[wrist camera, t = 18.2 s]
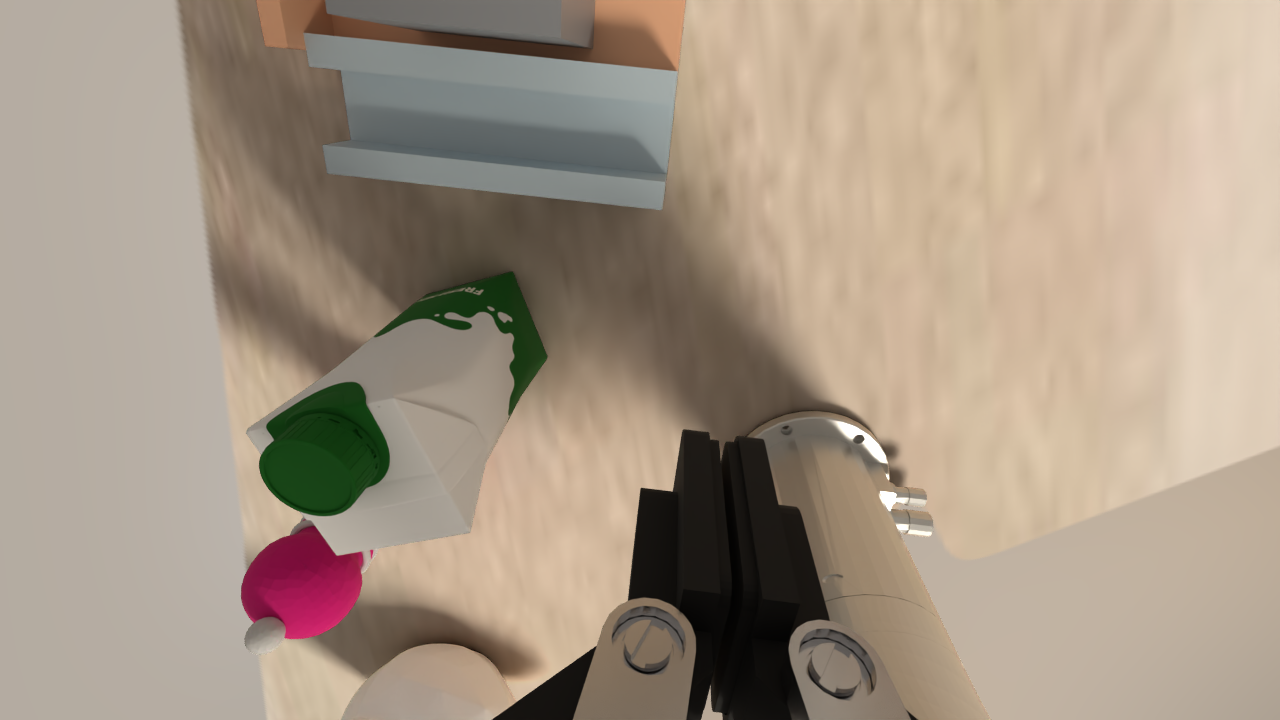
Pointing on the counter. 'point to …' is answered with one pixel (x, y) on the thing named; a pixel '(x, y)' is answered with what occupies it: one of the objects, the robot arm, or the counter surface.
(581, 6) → the panel
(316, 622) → the pepper mill
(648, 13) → the rack
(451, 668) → the decorative rooster
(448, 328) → the milk carton
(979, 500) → the counter surface
